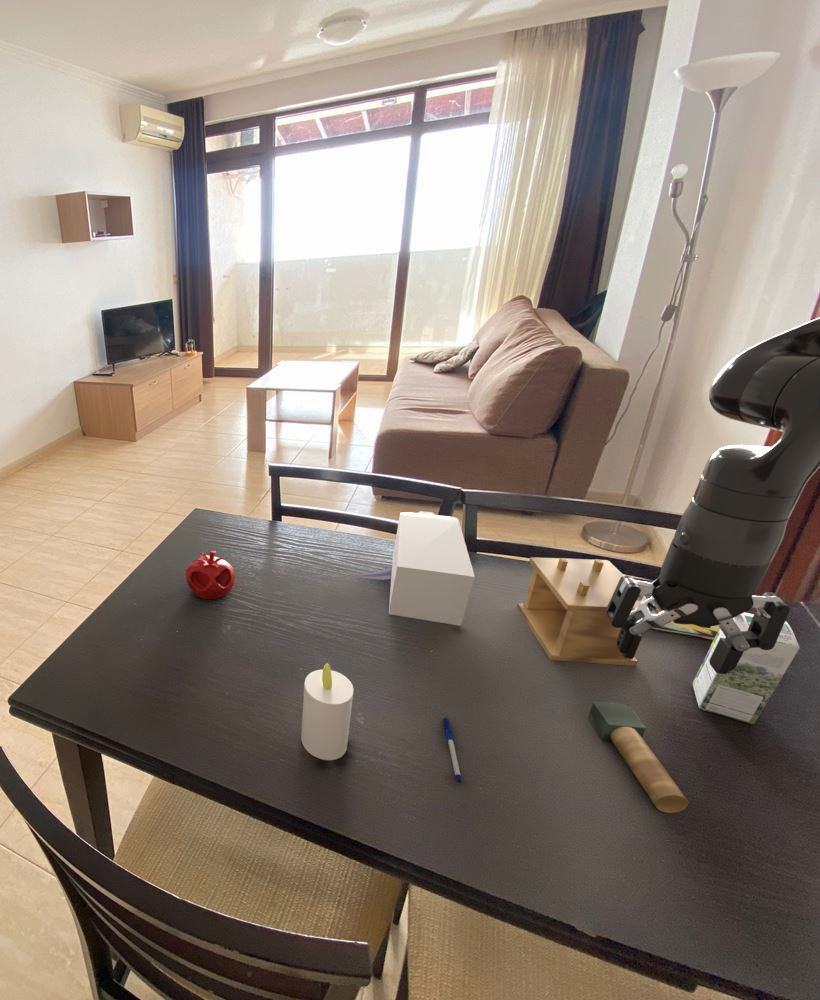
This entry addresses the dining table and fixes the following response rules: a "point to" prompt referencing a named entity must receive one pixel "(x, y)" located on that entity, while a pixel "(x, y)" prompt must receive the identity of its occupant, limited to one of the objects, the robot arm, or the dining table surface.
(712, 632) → the smartphone
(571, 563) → the shelf rack
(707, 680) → the syrup box
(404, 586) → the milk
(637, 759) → the brush
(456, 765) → the ballpoint pen
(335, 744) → the candle
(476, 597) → the dining table surface
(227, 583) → the pomegranate
